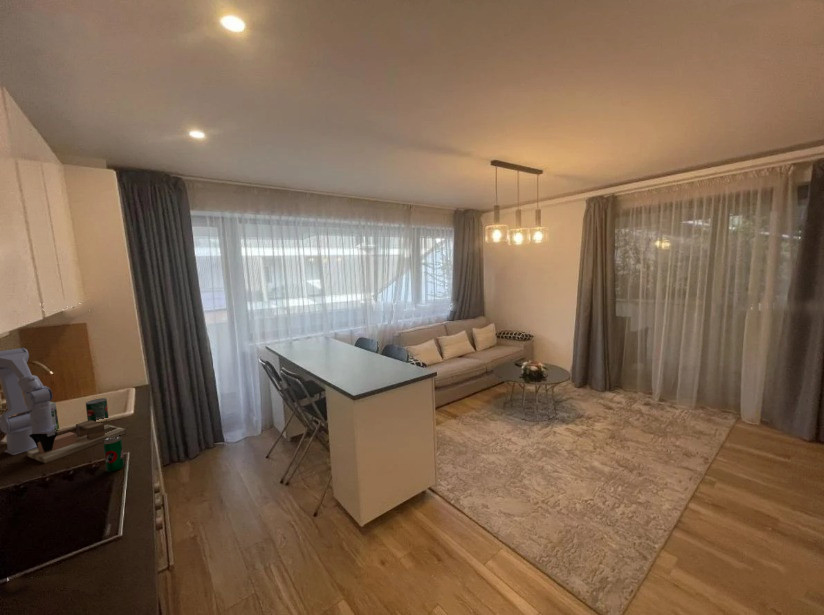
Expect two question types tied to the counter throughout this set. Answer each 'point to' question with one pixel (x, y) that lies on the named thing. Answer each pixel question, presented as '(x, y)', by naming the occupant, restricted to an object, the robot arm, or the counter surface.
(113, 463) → the soda can
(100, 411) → the canned tomato
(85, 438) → the pit track
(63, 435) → the bar
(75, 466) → the counter surface
